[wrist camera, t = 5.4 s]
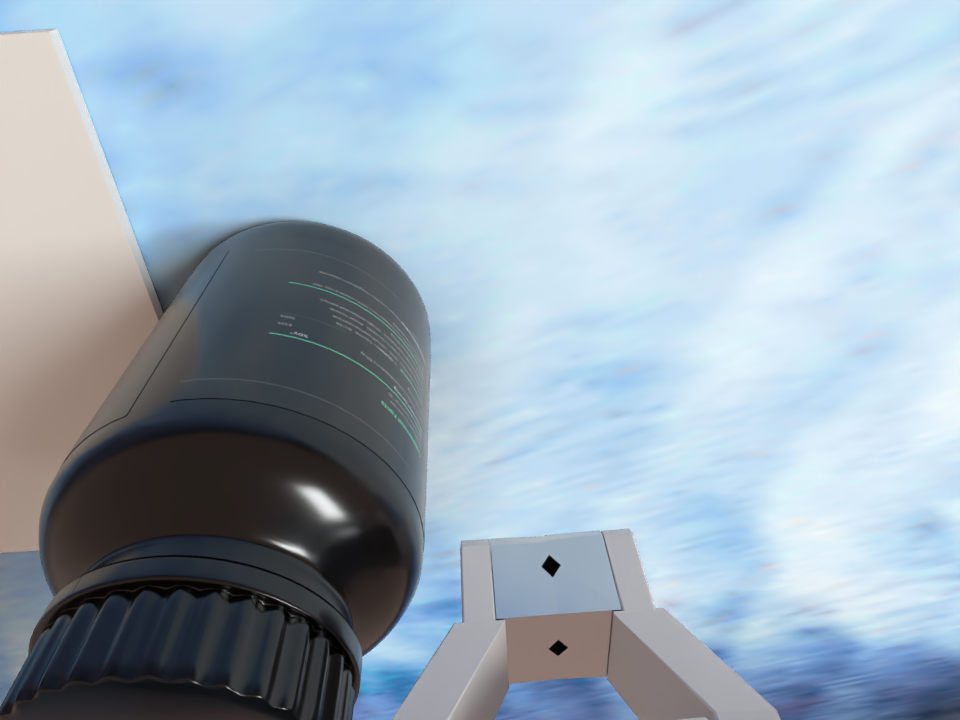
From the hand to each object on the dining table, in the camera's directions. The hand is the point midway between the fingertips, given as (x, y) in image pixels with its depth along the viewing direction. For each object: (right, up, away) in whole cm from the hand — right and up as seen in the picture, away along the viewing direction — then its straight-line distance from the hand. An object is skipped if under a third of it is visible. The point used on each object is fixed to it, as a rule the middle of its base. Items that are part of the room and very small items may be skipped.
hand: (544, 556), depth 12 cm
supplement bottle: (-6, +5, +7) cm, 11 cm away
